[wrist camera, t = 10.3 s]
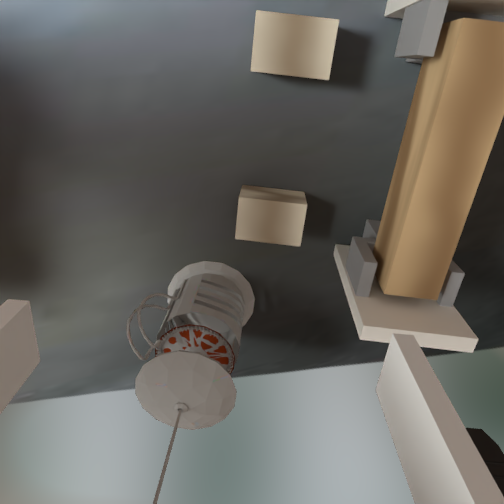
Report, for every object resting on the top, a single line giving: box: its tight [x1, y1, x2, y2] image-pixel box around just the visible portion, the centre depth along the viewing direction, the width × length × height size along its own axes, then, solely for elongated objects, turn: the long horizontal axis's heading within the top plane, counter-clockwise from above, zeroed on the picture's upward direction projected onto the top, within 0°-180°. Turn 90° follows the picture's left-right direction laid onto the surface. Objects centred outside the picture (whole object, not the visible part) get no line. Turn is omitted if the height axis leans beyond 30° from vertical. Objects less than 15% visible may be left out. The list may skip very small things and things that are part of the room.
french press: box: [126, 261, 255, 504], centre depth 32 cm, size 10×12×25 cm
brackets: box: [333, 0, 504, 353], centre depth 29 cm, size 8×22×14 cm, turn 174°
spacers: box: [235, 10, 339, 247], centre depth 34 cm, size 6×18×4 cm, turn 174°
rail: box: [372, 18, 504, 300], centre depth 28 cm, size 4×18×5 cm, turn 174°
